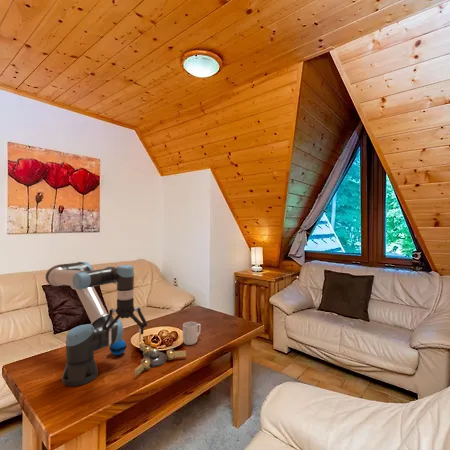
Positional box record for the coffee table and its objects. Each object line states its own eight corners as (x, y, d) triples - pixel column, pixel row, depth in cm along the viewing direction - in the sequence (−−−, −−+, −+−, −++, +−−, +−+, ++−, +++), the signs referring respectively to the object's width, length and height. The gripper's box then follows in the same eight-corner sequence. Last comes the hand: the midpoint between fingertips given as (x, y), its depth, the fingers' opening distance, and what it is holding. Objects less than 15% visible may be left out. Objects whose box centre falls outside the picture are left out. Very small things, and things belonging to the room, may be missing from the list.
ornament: (109, 352, 160) (109, 335, 159) (125, 349, 163) (125, 332, 163) (109, 359, 152) (109, 341, 151) (126, 356, 155) (126, 338, 155)
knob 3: (166, 360, 149) (166, 352, 149) (166, 356, 153) (166, 349, 153) (186, 358, 151) (186, 350, 151) (185, 354, 156) (185, 347, 155)
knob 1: (152, 353, 156) (152, 346, 156) (145, 356, 153) (145, 349, 153) (144, 347, 164) (144, 340, 163) (136, 350, 161) (136, 343, 160)
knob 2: (144, 364, 144) (144, 357, 144) (151, 366, 143) (151, 358, 143) (131, 375, 135) (131, 367, 135) (139, 376, 133) (139, 368, 133)
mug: (188, 347, 167) (188, 328, 167) (180, 342, 173) (180, 324, 173) (204, 341, 175) (204, 323, 174) (196, 336, 181) (196, 319, 181)
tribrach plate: (142, 368, 143) (142, 356, 143) (143, 357, 154) (143, 346, 154) (165, 365, 145) (165, 353, 145) (165, 355, 157) (165, 344, 157)
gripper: (95, 302, 128) (95, 348, 128) (152, 298, 134) (152, 343, 134) (98, 297, 135) (98, 341, 136) (152, 294, 141) (152, 336, 142)
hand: (125, 342), depth 135 cm, fingers open, 13 cm apart
